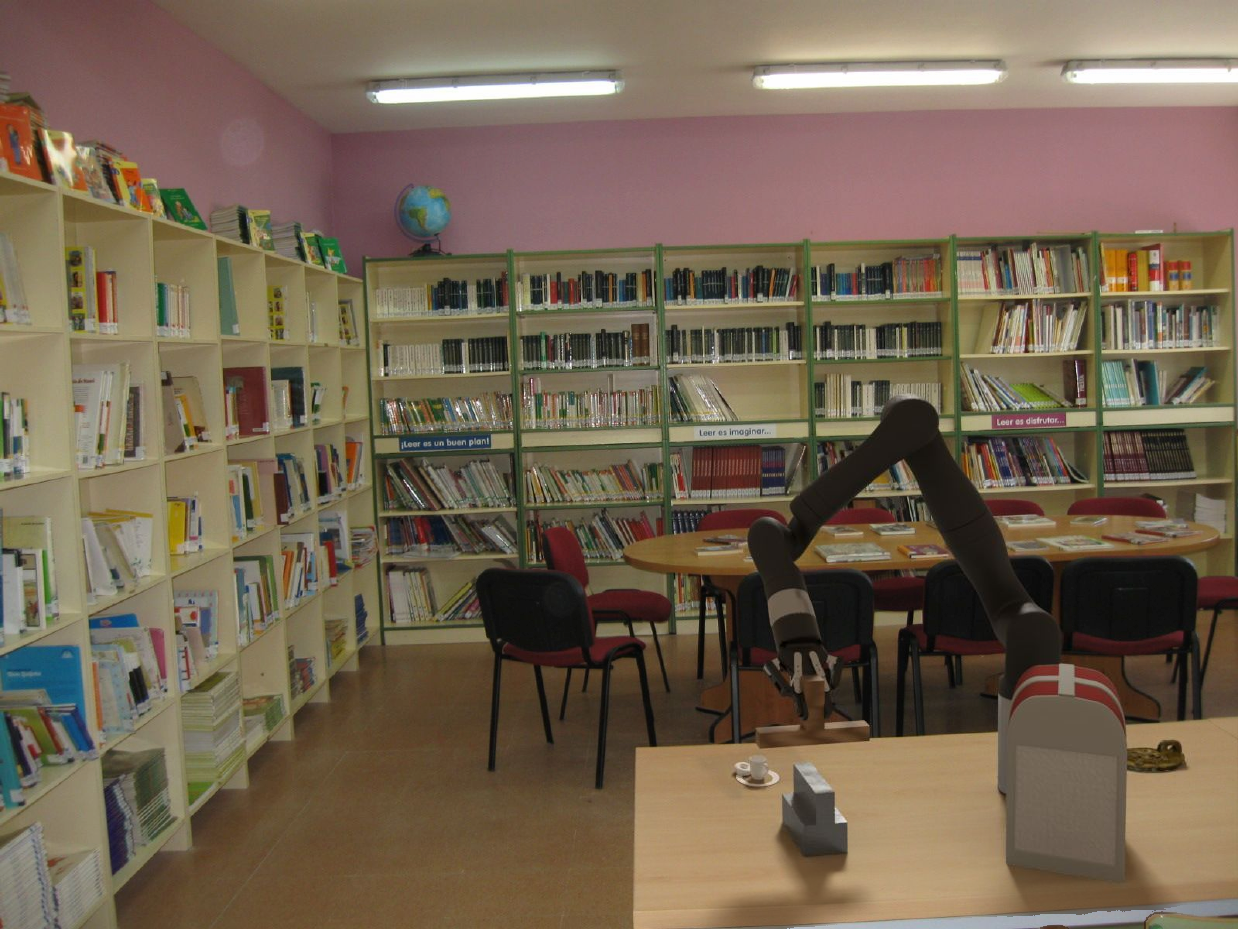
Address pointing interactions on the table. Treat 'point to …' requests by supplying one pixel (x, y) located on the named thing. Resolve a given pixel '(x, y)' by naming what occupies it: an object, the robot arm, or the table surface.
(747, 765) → the teacup and saucer
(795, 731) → the wooden t-shaped block
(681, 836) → the table surface
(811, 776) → the gray metal t-shaped block
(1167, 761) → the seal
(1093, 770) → the red-striped tombstone block
